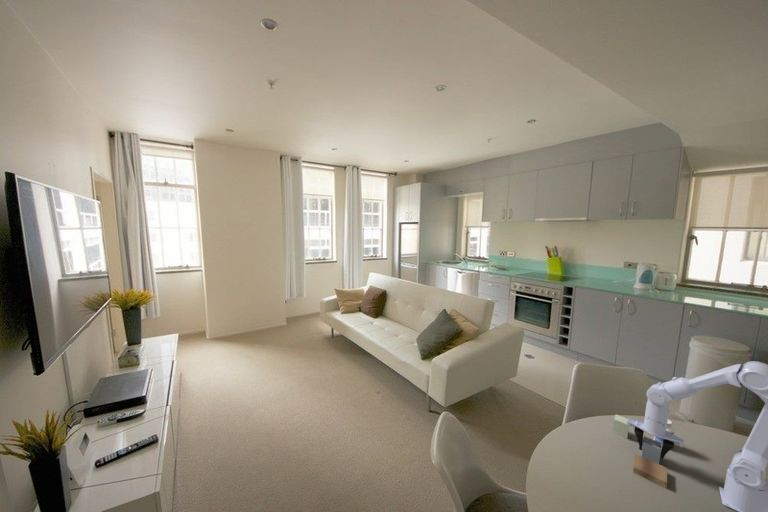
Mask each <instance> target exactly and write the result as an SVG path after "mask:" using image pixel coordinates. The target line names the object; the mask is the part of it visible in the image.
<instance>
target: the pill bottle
mask: <svg viewBox="0 0 768 512" xmlns="http://www.w3.org/2000/svg"><path fill="white" fill-rule="evenodd" d="M666 431H667V432H669V433H671V434H673V435H675V430H674V428H673V422H672V421H671V419H669V418H668V421H667V428H666ZM652 439H653V440H655V441H657V442H660V443H661V447H662V445H663V438H659V437H656V436H653V435H652Z"/></svg>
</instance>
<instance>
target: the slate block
mask: <svg viewBox="0 0 768 512" xmlns="http://www.w3.org/2000/svg"><path fill="white" fill-rule="evenodd" d="M661 449H662V446H661V443H660V442H657V441H655V440H653V438H649V437H648V436H646V435H643V443H642V450H641V457H644V458H646V459H648V460H650V461H653V462H655V463H657V464H659V465H660V454H661Z"/></svg>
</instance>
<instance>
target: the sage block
mask: <svg viewBox="0 0 768 512" xmlns="http://www.w3.org/2000/svg"><path fill="white" fill-rule="evenodd" d="M627 420H628V418H626V417H624V416H621V415H619V414H616V413H615V414H614V419H613V426H612V434H614V435H616V436H618V437H621V438H623V439H626V440H628V437H629V431H630V430H629V428H630V426H628V425H627Z"/></svg>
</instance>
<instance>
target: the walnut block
mask: <svg viewBox="0 0 768 512" xmlns="http://www.w3.org/2000/svg"><path fill="white" fill-rule="evenodd" d="M632 473H633V474H635V475H637V476H639V477H641V478H643V479H646V480H648V481H649V482H652V483H654V484H656V485H658V486H661V487H662V488H664V489H667V488H668V487H667V486H668V468H667V467H666V466H664V465H661V464H660V463H659V464H657V463H655V462H653V461H650V460H648V459H646V458H644V457H642V455H639V454H637V453H634V459H633V470H632Z"/></svg>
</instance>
